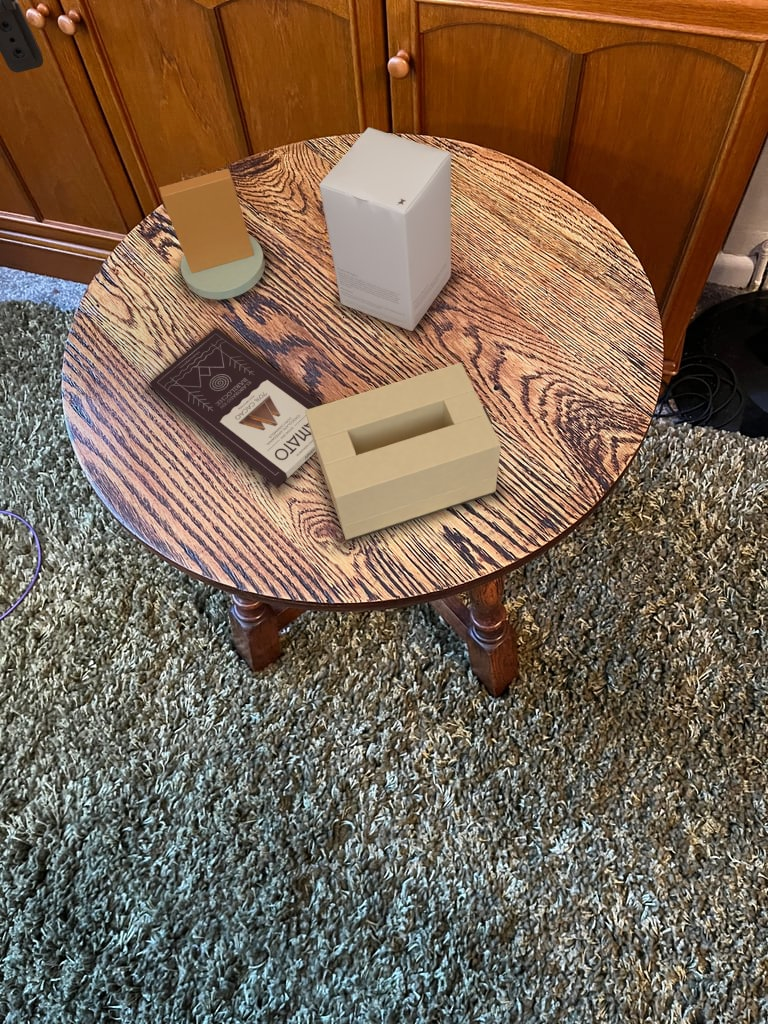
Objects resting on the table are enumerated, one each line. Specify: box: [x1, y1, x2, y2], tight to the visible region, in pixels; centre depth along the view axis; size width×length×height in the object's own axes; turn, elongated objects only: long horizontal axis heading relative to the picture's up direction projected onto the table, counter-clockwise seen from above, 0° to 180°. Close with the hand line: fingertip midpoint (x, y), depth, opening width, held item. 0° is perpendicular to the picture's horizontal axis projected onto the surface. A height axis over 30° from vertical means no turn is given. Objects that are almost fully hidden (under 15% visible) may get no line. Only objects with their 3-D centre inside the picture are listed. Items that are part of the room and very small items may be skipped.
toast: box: [158, 168, 254, 273], centre depth 79 cm, size 7×1×10 cm, turn 108°
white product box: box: [318, 127, 452, 332], centre depth 74 cm, size 9×9×15 cm
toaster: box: [305, 362, 502, 543], centre depth 67 cm, size 15×9×8 cm, turn 108°
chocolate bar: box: [149, 327, 324, 489], centre depth 75 cm, size 9×1×18 cm
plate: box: [180, 235, 266, 300], centre depth 84 cm, size 9×9×1 cm
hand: (22, 31), depth 51 cm, fingers open, 8 cm apart
